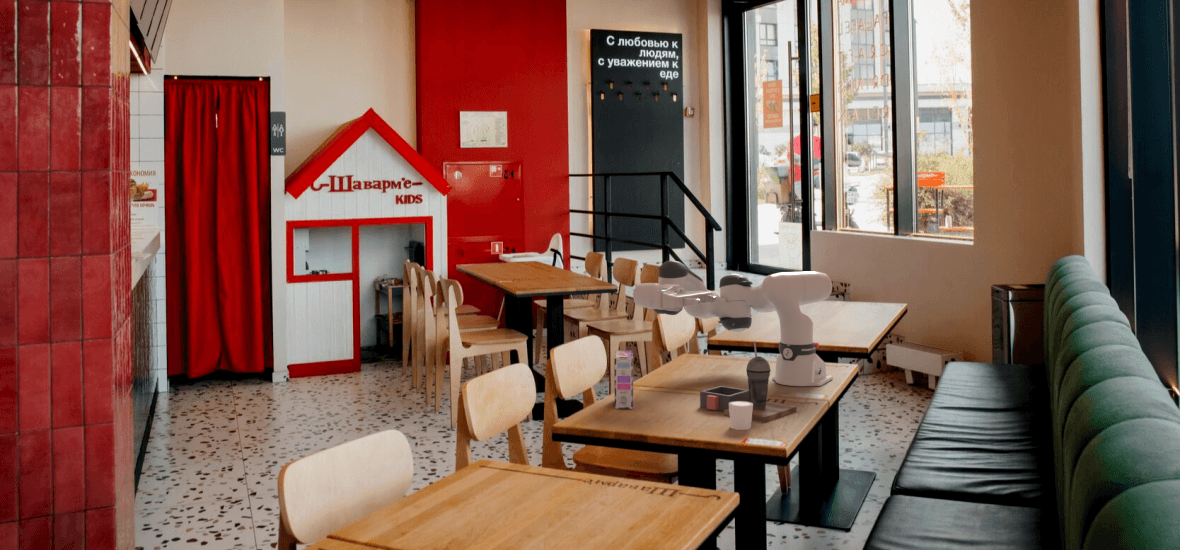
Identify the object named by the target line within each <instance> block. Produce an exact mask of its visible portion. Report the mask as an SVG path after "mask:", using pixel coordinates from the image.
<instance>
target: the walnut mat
mask: <svg viewBox="0 0 1180 550" xmlns="http://www.w3.org/2000/svg"><path fill="white" fill-rule="evenodd" d="M797 409H798V408H797V406H795V405H790V404H784V403H783V404H782V403H778V402H772V401H767V402H766V408H765V409H761V410H758V409H753V410H752V422H753V421H754V422H760V423H767V422H770V421H773V420H775V419H778V418H782V417H784V416H788V415H789V414H792V413H796V412H797ZM723 415H724V416H729V417H730V414H729V409H726V410H724V411H723Z"/></svg>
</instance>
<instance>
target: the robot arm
mask: <svg viewBox="0 0 1180 550" xmlns="http://www.w3.org/2000/svg"><path fill="white" fill-rule="evenodd" d="M657 281H658V282H644V283H643V282H642V283H638V284H637V285H636V286H635V287H634V290H633V299H632V300H633V302H634V304H635V305H636V306H638V307H641V308H646V309H652V310H653V311H654V312H655V313H656V314H659V315H664V314H665V315H669V316H676V315H678V314H679V313H681V312H682V311H683V310H684V312H686V313H687V314H688V315H689V316H691V317H693V318H696V319H703V320H704V319H712V318H718V319H719V320H718V324H721V325H722V326H723V328H724V329H726V330H727V331H730V332H733V333H741V332H745V331H746V330H748V329H749V328H751V326H752V322H753V321H752V309H753V311H755V312H756V313H757V312H758V313H763V314H764V313H772V312H776V313H777V316H778V320H779V327H780V328H779V330H780V331H779V332H780V341H779V344H778V353H779V355H778V356H777V357H776V363H775V371H774V372H775V374H774V375H772V380H774V381H775V383H777V384H780V385H783V386H791V387H821V386H823V385H824V384H826V383H828V382H830V381H831V380H833V376H832V375H830V374H827V371H826V370H827V367H826V362H825V361H824V360H823V359H822V358H821V357H820V356H819V355H818V354H817V353H816V351H817V350H816V349H819V347H820V343H819V342H814V322H813V320H812V319H811V318H810V317H809V315H807V314H805V313H803V312H802V311H801V308H800V306H804V305H809V304H814V303H818V302H822V301H825V300H827V299H828V298H830V296H831V294H832V291H833V282H832V280H831V277H830V276H829V275H828V274H827V273H824V272H820V271H814V270H811V271H810V270H809V271H808V270H807V271H781V272H775V273H772V274H768V275H767V276H765V277H764V279H763V281H762V282H761V284H759V285H757V286H754V287H753V286H751V285H753V281H750V280H749V279H748V278H747V277H745V276H744V275H742V274H738V273H729V274H726V275H725V276H723V277H721V278H720V280H719V286H718V287H719V295H718V294H717V293H716V292H715V291H712V290H709V289H707V287H706V285H705V283H704V280H703V279H702V277H700V276H699V275H698V274H696V273H695V272H693V271H692V270H691V269H689V268H688V267H687V266H686V265H685V264H684V263H682V262H680V261H677V260H666V261H665V262H663V263H662V264H661V265H660V266H659V267H658V279H657Z"/></svg>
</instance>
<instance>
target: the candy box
mask: <svg viewBox="0 0 1180 550" xmlns="http://www.w3.org/2000/svg"><path fill="white" fill-rule="evenodd" d="M633 352H634V351H633V350H615V355H614V359H613V360H614V365H613V366H614V370H613V371H614V377H613V378H614V409H615V410H633V409H634V353H633Z"/></svg>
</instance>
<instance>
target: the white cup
mask: <svg viewBox="0 0 1180 550" xmlns="http://www.w3.org/2000/svg"><path fill="white" fill-rule="evenodd" d="M752 410H753V403H751V402H747V401H733V402H729V414H730V416H729V423H730V428H731V429H732V430H737V431H745V430H746V431H747V430H750V429H751V428H752V422H753V420H752Z"/></svg>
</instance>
